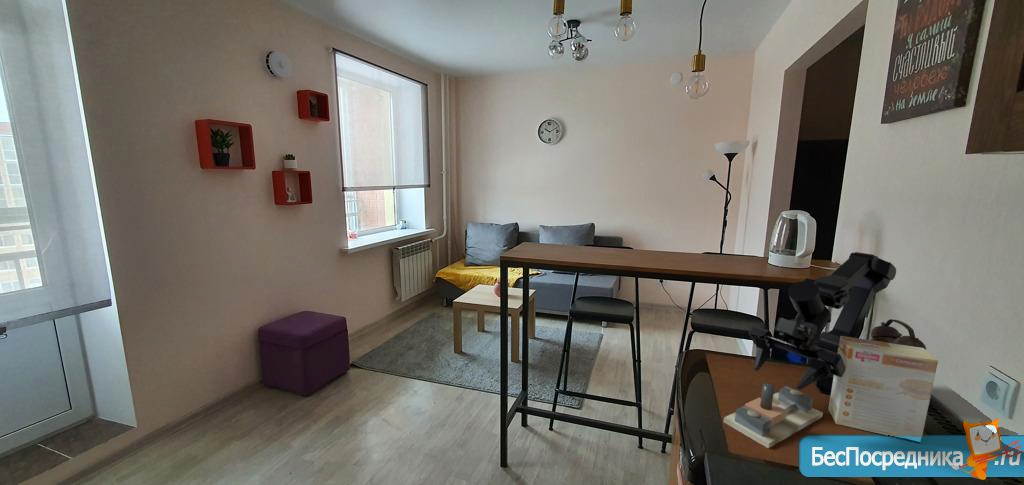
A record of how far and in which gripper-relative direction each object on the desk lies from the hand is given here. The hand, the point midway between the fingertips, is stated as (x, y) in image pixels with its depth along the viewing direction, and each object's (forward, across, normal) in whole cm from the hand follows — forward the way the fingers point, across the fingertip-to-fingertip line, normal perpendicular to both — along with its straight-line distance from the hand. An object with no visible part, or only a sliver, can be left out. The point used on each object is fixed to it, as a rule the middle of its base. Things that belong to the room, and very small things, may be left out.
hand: (776, 379), depth 90 cm
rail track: (+6, 0, +9) cm, 11 cm away
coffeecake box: (-6, +12, +22) cm, 25 cm away
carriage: (+8, 0, +4) cm, 9 cm away
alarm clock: (-22, +8, +37) cm, 43 cm away
